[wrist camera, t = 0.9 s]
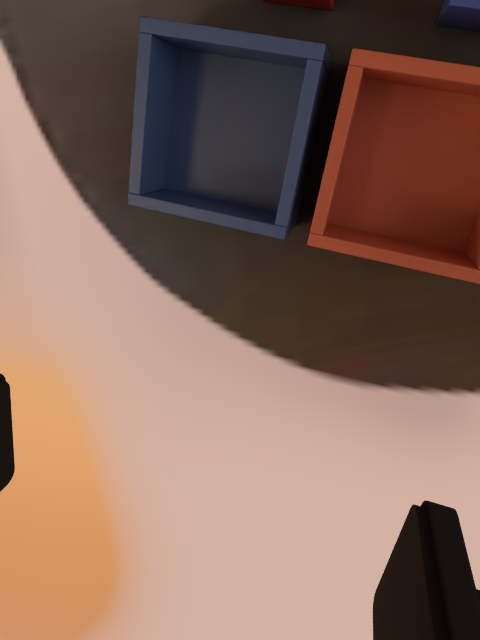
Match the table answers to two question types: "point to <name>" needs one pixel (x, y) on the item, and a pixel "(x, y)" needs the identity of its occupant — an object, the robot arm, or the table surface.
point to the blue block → (460, 14)
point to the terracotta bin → (404, 166)
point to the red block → (307, 3)
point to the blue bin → (224, 124)
